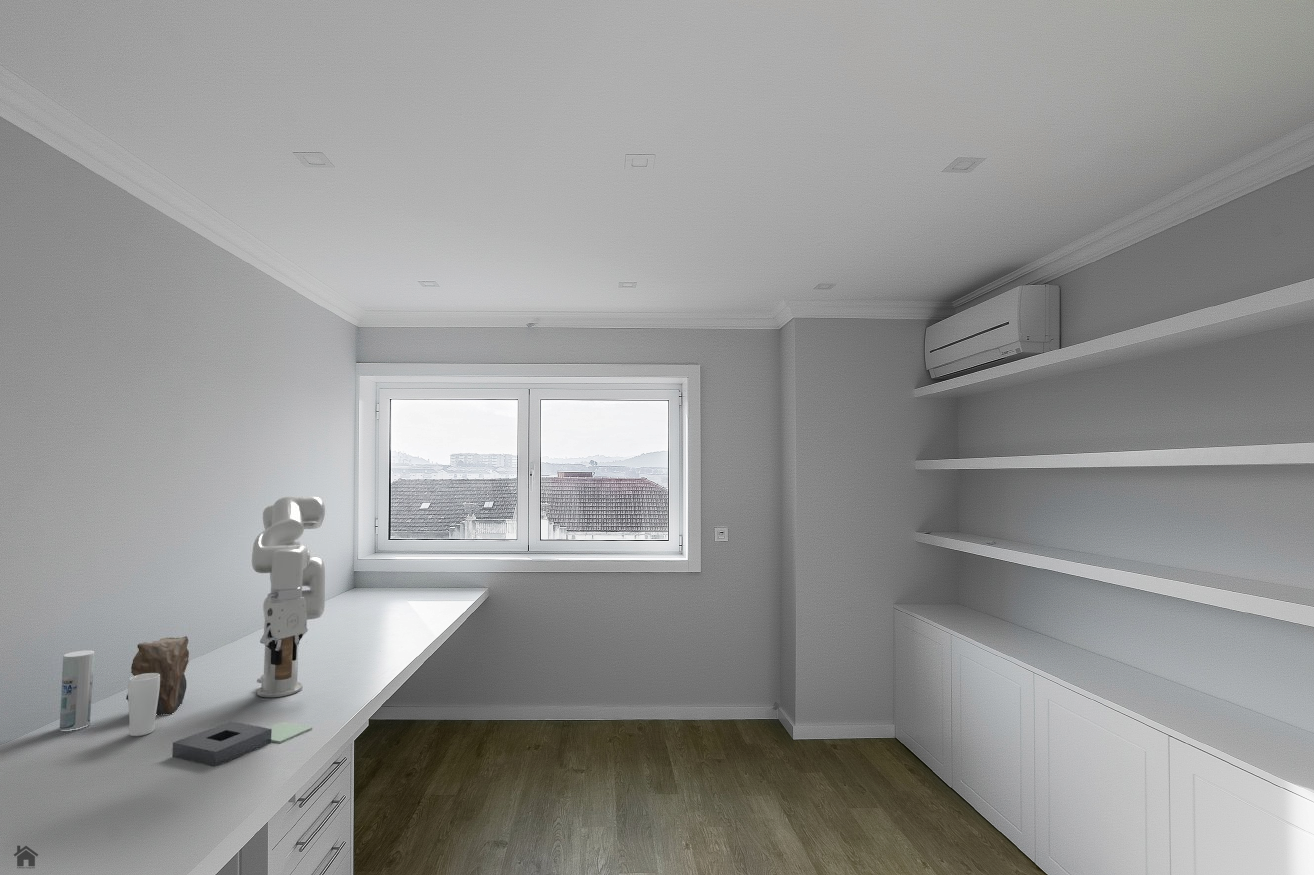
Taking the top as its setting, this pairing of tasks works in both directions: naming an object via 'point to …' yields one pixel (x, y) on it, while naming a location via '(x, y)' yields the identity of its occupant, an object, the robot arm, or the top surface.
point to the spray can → (76, 689)
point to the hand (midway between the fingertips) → (283, 661)
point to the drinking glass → (143, 703)
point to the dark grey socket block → (221, 743)
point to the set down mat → (286, 731)
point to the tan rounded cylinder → (285, 660)
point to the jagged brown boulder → (164, 669)
